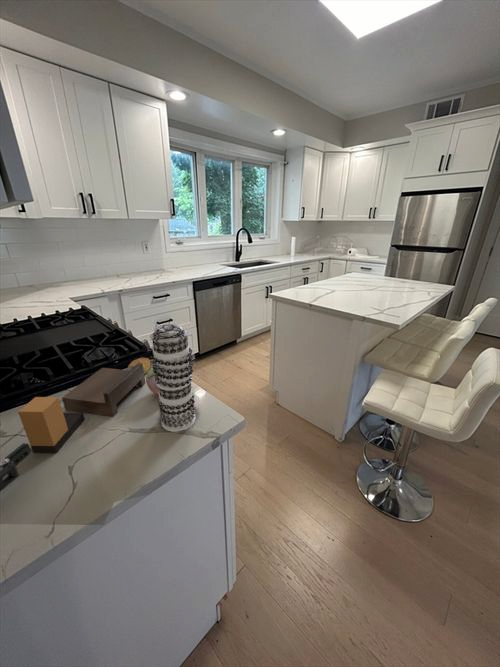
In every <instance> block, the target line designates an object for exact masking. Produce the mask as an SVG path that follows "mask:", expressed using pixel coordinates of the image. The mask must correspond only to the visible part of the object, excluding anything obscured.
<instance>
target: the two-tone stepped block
mask: <svg viewBox="0 0 500 667" xmlns="http://www.w3.org/2000/svg"><path fill="white" fill-rule="evenodd" d="M17 413H18V416H19V418H20V421H21V424H22V427H23V429H24V431H25V434H26V437H27V439H28V443H29V446H30V448H31V450H32V452H33V454H58V452H59V451H60V450H61V449H62V448H63V446H64V445H65V444H66V442H67V441H68V440H69V439H70V438H71V437H72V435H73V434H74V433H75V432H76V431H77V429H78V428H79V427H80V425H81V424H82V423H83V422H84V421H85V416H84V413H82V412H64V411H63V408H62V405H61V402H60V398H59V397H58V396H34V398H32V399H31V400H30V401H29V402H28V403H26V404H25V405H24V406H23V407H21V409H19V410H18V411H17Z"/></svg>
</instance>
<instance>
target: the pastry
mask: <svg viewBox="0 0 500 667" xmlns="http://www.w3.org/2000/svg"><path fill="white" fill-rule="evenodd" d="M138 363H142V364H143V370H144V375H147V373H148V372H149V371H150V370H151V360H150V358H148V357H139V358H136V359H134V360H132V361H131V362H130V363H129V364H128V366H127V370H129V371H130V370H131V369H132V368H133V367H134V366H135V365H137V364H138Z"/></svg>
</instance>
